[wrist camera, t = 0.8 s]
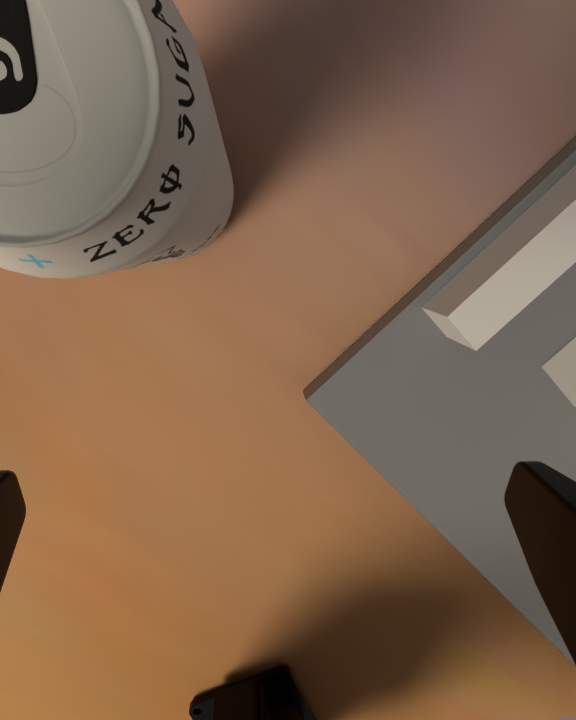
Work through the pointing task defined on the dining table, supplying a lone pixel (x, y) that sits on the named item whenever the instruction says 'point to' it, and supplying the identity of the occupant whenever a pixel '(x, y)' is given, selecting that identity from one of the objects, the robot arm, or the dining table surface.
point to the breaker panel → (475, 380)
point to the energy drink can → (105, 139)
